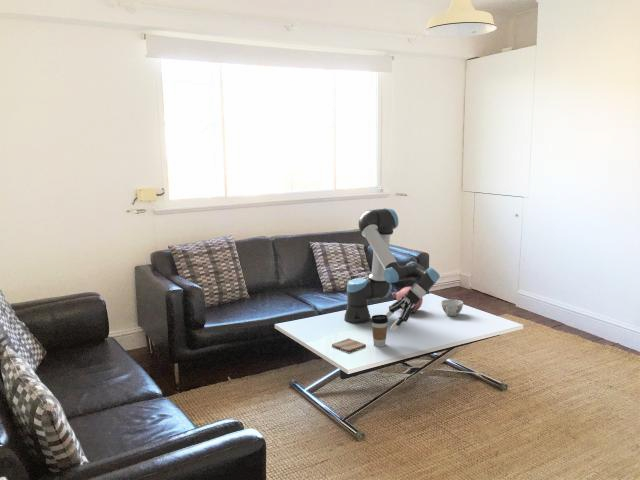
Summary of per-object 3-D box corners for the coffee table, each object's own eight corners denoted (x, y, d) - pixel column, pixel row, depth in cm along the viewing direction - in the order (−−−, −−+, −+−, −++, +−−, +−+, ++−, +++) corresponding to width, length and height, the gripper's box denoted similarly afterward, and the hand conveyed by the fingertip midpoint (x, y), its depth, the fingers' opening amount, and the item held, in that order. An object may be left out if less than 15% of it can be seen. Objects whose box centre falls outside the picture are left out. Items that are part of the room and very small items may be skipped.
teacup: (445, 310, 325) (446, 297, 324) (466, 313, 318) (466, 300, 317) (436, 317, 313) (436, 303, 312) (456, 320, 306) (457, 307, 305)
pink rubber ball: (399, 305, 338) (399, 281, 335) (427, 311, 325) (427, 286, 322) (385, 311, 327) (385, 286, 324) (413, 317, 313) (413, 291, 311)
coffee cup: (387, 348, 267) (387, 319, 264) (370, 347, 269) (370, 318, 266) (388, 342, 275) (388, 313, 272) (372, 341, 277) (371, 313, 274)
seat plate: (331, 346, 270) (331, 344, 270) (348, 340, 278) (348, 338, 278) (348, 353, 262) (348, 350, 261) (365, 346, 270) (365, 344, 269)
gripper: (430, 305, 259) (400, 338, 259) (410, 292, 283) (383, 322, 283) (420, 295, 257) (390, 328, 257) (401, 283, 281) (374, 313, 281)
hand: (386, 325), depth 270 cm, fingers open, 13 cm apart
